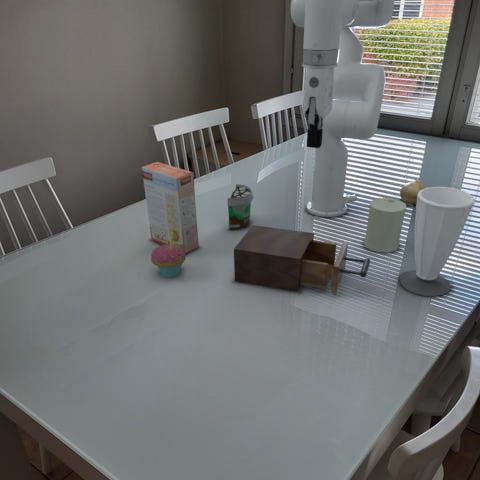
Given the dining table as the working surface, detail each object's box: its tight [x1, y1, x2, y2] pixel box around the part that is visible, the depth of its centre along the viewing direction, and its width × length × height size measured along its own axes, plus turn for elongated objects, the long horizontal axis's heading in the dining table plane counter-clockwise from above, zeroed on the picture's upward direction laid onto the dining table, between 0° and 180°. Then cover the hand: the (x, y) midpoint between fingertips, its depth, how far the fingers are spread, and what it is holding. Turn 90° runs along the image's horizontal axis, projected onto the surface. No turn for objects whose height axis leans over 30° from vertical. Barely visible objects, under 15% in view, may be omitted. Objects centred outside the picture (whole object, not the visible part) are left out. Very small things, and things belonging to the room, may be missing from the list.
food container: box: [227, 183, 254, 231], centre depth 139 cm, size 12×6×10 cm, turn 168°
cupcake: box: [150, 229, 187, 278], centre depth 116 cm, size 9×8×12 cm
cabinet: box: [233, 224, 315, 293], centre depth 116 cm, size 16×14×9 cm
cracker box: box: [141, 161, 200, 254], centre depth 126 cm, size 14×6×21 cm, turn 47°
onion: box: [399, 178, 426, 205], centre depth 151 cm, size 8×8×7 cm
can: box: [363, 197, 407, 253], centre depth 126 cm, size 9×9×12 cm
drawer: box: [300, 239, 371, 295], centre depth 112 cm, size 20×13×7 cm, turn 70°
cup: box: [399, 186, 476, 298], centre depth 107 cm, size 12×12×22 cm
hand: (314, 146), depth 112 cm, fingers closed
